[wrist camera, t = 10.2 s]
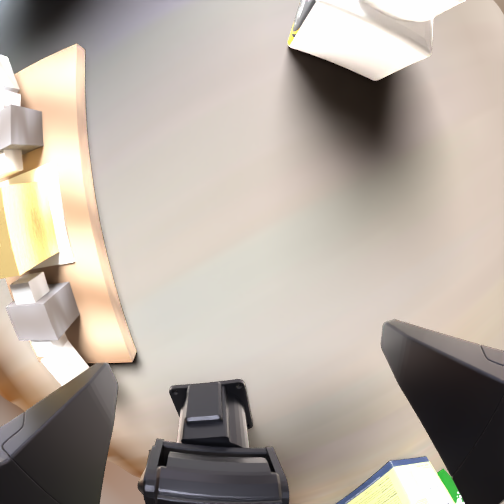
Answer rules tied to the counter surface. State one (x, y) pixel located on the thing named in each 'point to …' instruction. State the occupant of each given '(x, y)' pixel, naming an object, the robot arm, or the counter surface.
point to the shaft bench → (60, 220)
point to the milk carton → (450, 486)
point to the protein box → (402, 485)
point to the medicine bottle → (367, 32)
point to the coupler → (25, 228)
